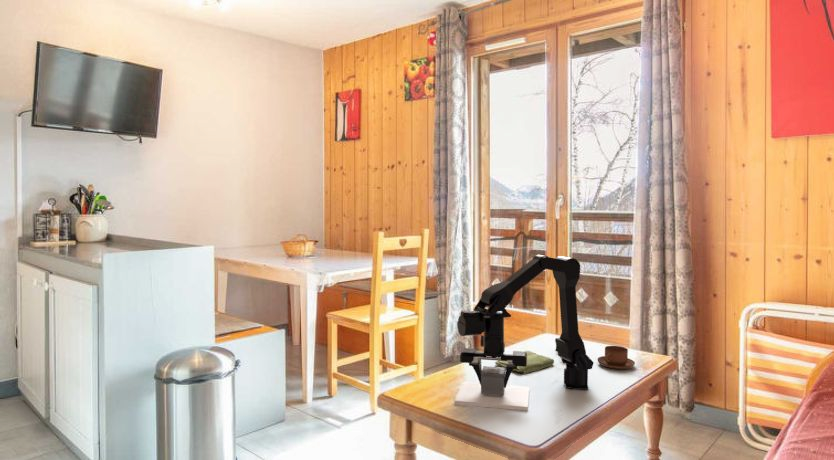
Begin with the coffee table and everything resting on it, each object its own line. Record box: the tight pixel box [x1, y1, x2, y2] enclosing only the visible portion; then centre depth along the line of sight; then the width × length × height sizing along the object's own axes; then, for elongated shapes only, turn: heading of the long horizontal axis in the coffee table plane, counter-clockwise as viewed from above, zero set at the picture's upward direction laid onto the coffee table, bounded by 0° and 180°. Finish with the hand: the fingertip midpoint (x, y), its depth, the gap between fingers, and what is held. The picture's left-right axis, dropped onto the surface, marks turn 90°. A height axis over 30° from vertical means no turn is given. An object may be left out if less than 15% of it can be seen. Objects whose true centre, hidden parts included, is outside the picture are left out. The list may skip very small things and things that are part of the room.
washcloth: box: [494, 350, 555, 375], centre depth 185 cm, size 13×18×3 cm
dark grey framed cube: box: [481, 365, 506, 396], centre depth 155 cm, size 6×6×6 cm
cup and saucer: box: [597, 345, 636, 370], centre depth 184 cm, size 12×12×6 cm
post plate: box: [454, 381, 530, 411], centre depth 156 cm, size 20×16×5 cm
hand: (493, 386), depth 156 cm, fingers closed on dark grey framed cube, 6 cm apart
